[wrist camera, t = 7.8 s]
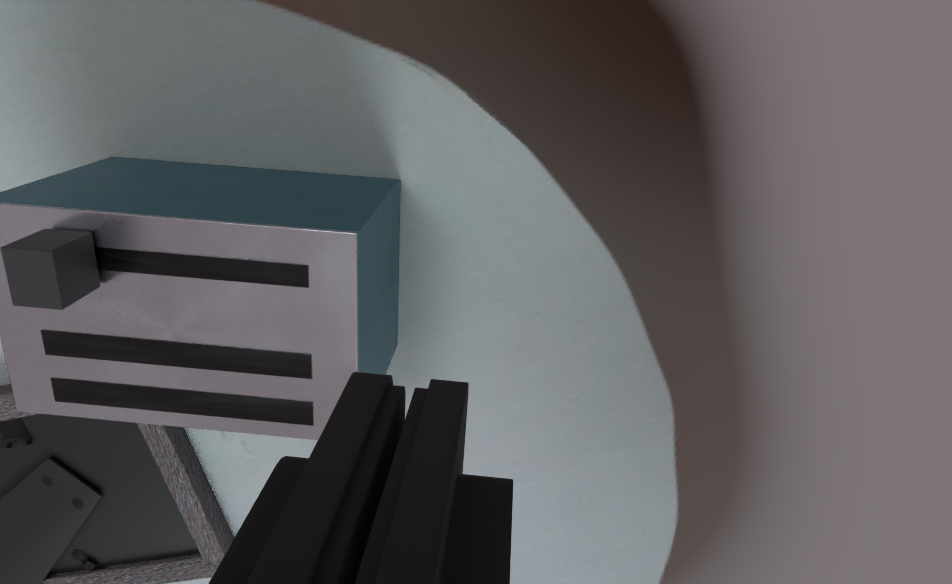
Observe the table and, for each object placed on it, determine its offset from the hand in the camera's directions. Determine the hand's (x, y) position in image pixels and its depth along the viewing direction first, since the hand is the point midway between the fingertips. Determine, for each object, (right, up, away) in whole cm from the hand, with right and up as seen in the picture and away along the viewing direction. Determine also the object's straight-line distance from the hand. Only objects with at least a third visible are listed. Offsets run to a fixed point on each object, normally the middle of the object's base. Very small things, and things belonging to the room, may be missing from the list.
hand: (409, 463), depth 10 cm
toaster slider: (-16, +4, +18) cm, 24 cm away
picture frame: (-27, -11, +36) cm, 46 cm away
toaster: (-11, +5, +28) cm, 31 cm away
